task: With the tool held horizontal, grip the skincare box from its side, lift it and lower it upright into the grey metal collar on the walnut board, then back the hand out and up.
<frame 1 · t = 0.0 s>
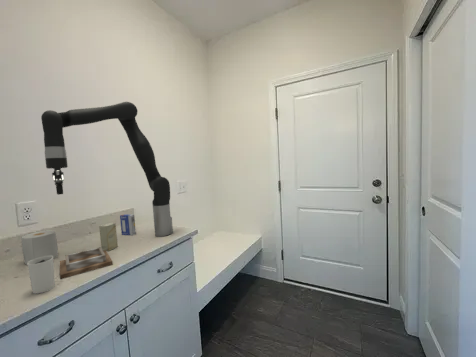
hand: (60, 193, 104), 29 cm above the worktop, tool pointing down, fingers open, 8 cm apart
socket board: (86, 264, 96), on the worktop
skincare box: (109, 249, 114), on the worktop
white coffee cup: (44, 289, 78), on the worktop
walkman: (128, 234, 137), on the worktop
toilet paper roll: (41, 259, 105), on the worktop
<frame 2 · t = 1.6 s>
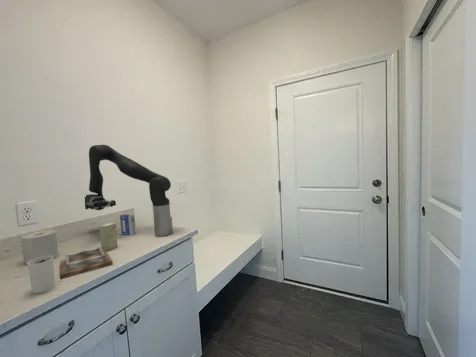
hand: (102, 206, 120), 20 cm above the worktop, tool horizontal, fingers open, 8 cm apart
nothing on the worktop moved.
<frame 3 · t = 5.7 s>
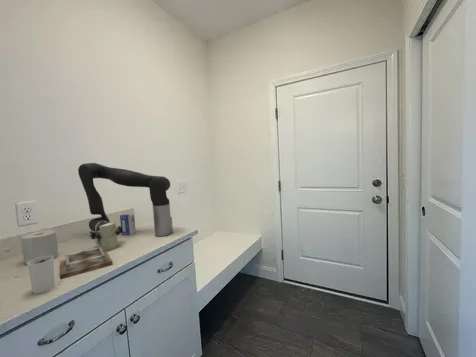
hand: (109, 235, 112), 7 cm above the worktop, tool horizontal, fingers closed on skincare box, 7 cm apart
skincare box: (109, 249, 114), on the worktop, touching gripper
everything else where it was.
when the fingers open (10 cm above the worktop, at t = 11.3 s): skincare box drops 1 cm, resting on socket board.
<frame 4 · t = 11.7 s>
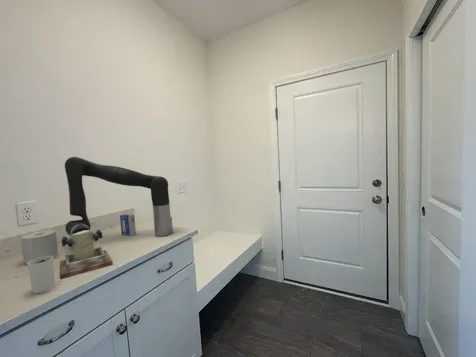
hand: (84, 241, 94), 10 cm above the worktop, tool horizontal, fingers open, 8 cm apart
skincare box: (85, 261, 96), point 1 cm above the worktop, touching socket board
everything else where it was.
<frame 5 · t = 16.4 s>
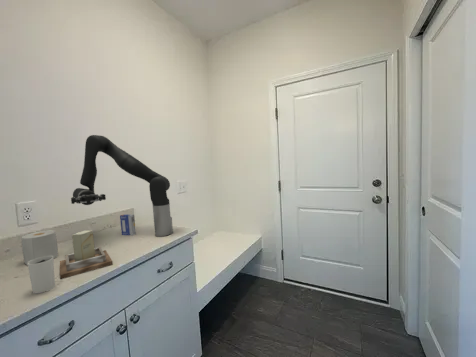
hand: (90, 199, 109), 25 cm above the worktop, tool horizontal, fingers open, 8 cm apart
nothing on the worktop moved.
at the end: skincare box 0.2 cm off-centre on the socket board, point 1.3 cm above the socket board's base; skincare box tilted 0°; the gripper is holding nothing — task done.
